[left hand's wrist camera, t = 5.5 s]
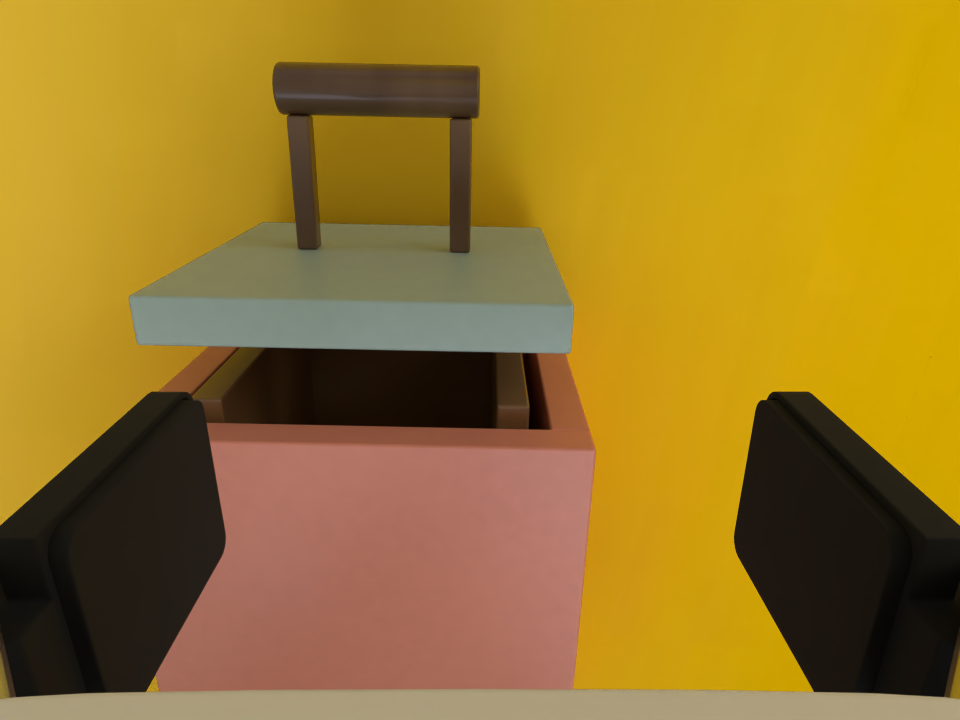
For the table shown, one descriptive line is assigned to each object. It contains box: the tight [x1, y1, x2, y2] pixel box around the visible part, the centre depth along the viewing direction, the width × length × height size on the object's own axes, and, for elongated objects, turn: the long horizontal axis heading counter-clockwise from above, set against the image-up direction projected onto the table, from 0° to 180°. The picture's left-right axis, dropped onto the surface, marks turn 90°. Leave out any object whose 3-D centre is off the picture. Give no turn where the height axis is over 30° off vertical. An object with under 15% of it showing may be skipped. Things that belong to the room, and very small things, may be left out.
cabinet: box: [156, 346, 596, 692], centre depth 24 cm, size 21×11×12 cm, turn 179°
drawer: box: [129, 62, 574, 429], centre depth 22 cm, size 25×10×10 cm, turn 179°
